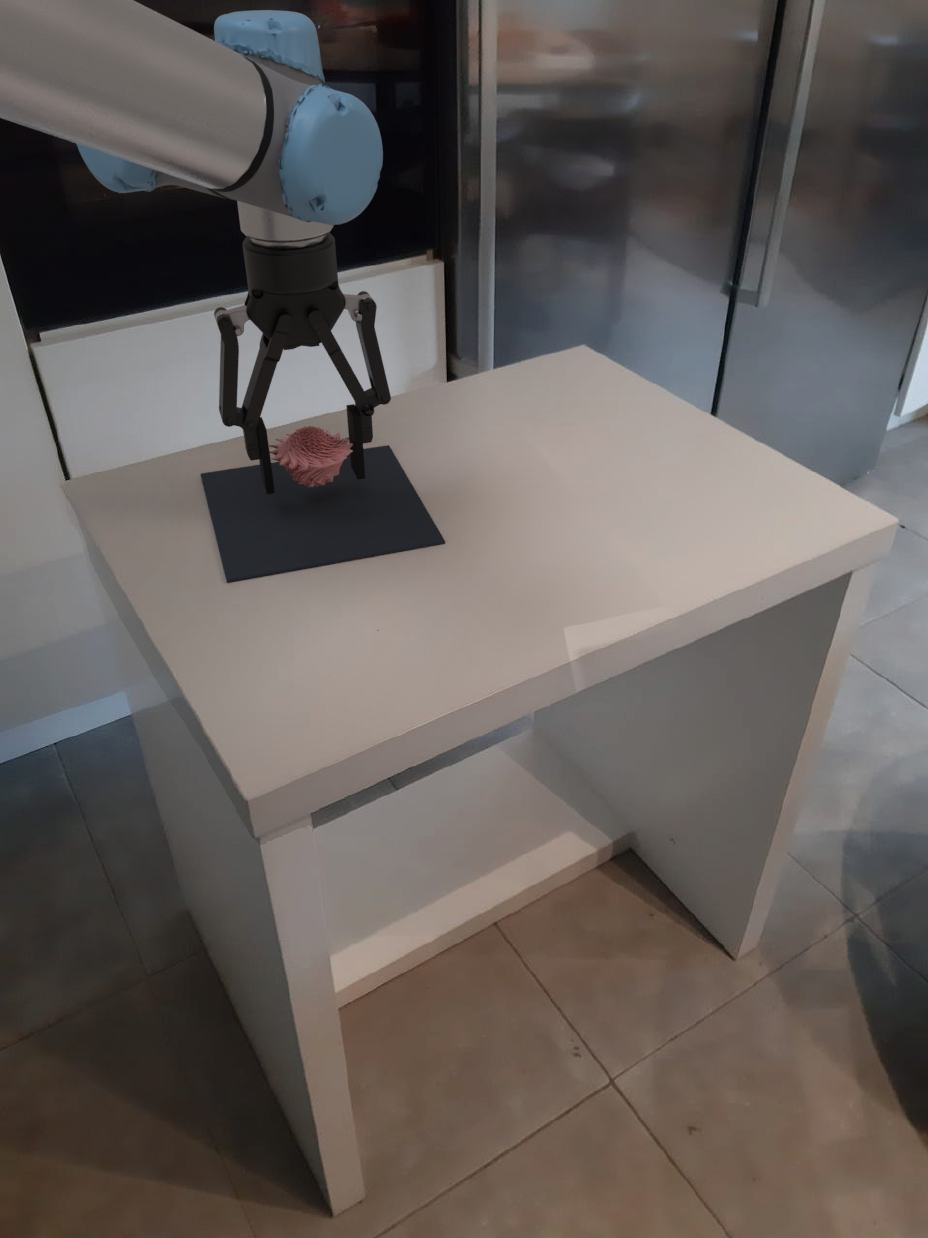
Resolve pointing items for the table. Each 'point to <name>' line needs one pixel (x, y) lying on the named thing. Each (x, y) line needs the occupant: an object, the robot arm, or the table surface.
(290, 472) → the flower
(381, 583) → the table surface
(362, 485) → the mat
